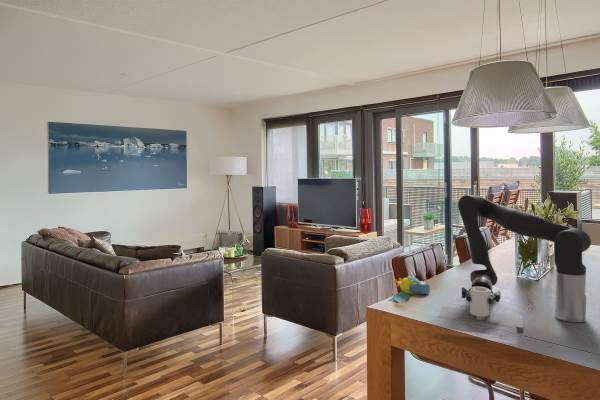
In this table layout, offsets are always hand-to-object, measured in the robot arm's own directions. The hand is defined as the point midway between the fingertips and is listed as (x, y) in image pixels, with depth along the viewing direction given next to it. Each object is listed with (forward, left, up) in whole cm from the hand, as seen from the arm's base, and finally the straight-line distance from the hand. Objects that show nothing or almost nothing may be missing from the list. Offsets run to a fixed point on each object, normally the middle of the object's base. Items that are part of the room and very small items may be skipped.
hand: (479, 300), depth 156 cm
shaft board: (0, -5, -9) cm, 10 cm away
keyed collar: (0, -2, -5) cm, 6 cm away
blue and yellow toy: (+29, -28, -10) cm, 41 cm away
